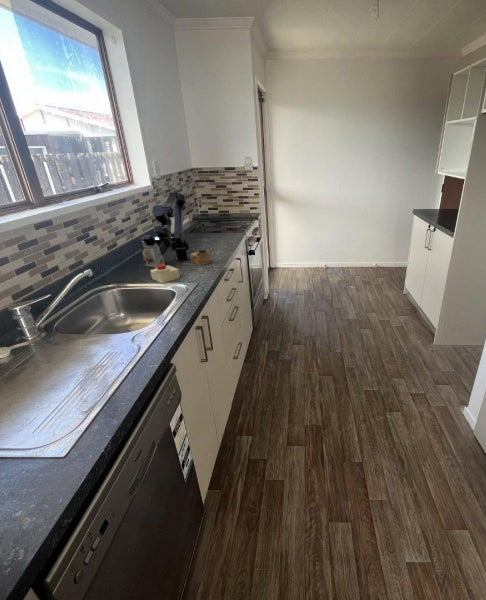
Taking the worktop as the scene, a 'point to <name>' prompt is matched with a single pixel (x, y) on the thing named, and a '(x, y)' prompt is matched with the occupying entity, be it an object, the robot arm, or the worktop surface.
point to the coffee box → (151, 254)
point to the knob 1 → (161, 266)
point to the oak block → (200, 258)
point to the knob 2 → (202, 250)
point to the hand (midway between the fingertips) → (162, 254)
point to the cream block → (165, 274)
